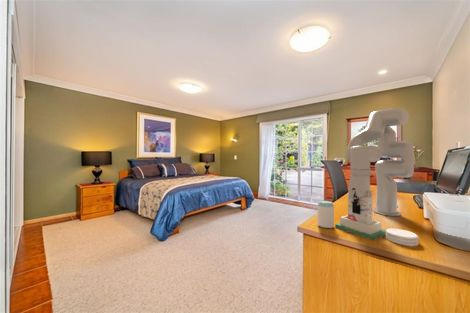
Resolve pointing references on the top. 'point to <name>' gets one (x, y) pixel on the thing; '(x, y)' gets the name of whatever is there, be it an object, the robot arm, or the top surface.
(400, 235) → the white short cylinder
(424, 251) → the top surface
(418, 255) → the top surface
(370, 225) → the green and cream tray
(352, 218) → the ink cartridge box
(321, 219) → the can
